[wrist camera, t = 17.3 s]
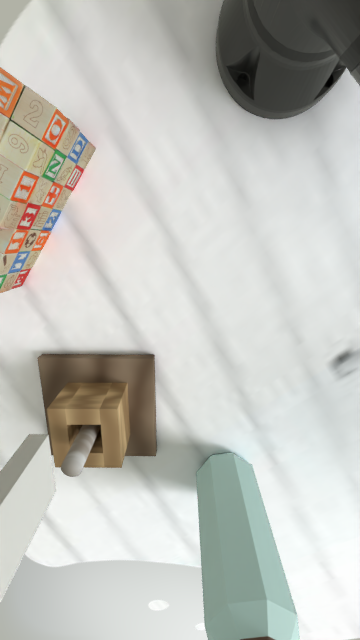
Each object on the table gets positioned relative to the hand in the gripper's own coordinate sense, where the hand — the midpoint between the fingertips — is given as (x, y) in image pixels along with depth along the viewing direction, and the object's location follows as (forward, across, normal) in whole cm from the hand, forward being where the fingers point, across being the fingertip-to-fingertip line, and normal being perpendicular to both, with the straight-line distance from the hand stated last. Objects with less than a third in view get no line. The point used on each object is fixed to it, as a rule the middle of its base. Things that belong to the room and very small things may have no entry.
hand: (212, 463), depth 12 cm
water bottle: (+32, +6, -30) cm, 44 cm away
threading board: (+32, -14, -17) cm, 39 cm away
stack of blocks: (+32, -21, +12) cm, 40 cm away
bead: (+30, -14, -17) cm, 37 cm away
